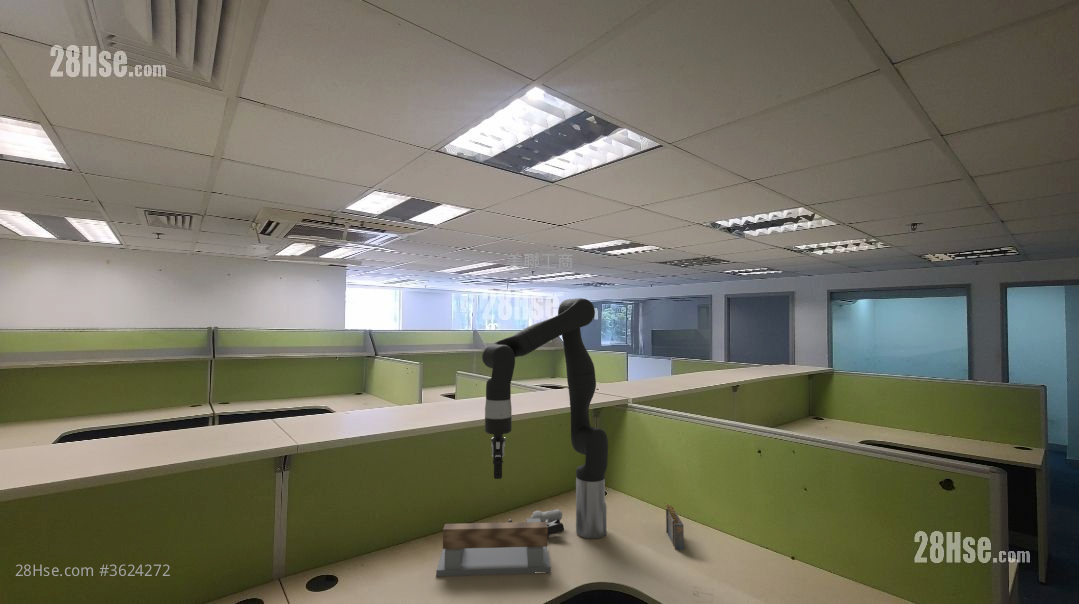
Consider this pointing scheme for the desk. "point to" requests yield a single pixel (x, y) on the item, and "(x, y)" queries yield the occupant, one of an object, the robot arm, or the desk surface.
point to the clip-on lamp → (549, 520)
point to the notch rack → (494, 560)
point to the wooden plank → (495, 535)
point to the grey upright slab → (674, 528)
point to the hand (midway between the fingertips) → (498, 473)
